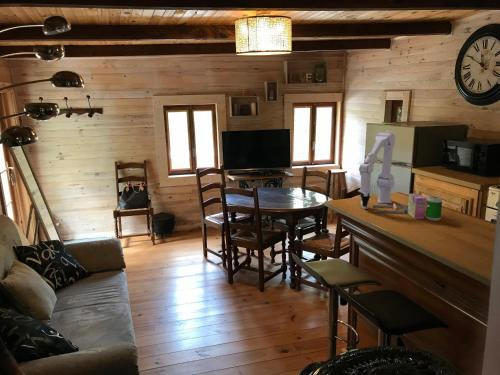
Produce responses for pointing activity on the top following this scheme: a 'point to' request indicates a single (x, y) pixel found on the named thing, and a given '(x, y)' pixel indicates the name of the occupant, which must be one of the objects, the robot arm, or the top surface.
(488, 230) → the top surface
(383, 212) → the lane
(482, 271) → the top surface
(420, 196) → the box
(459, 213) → the top surface
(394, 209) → the bar
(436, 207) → the soda can
